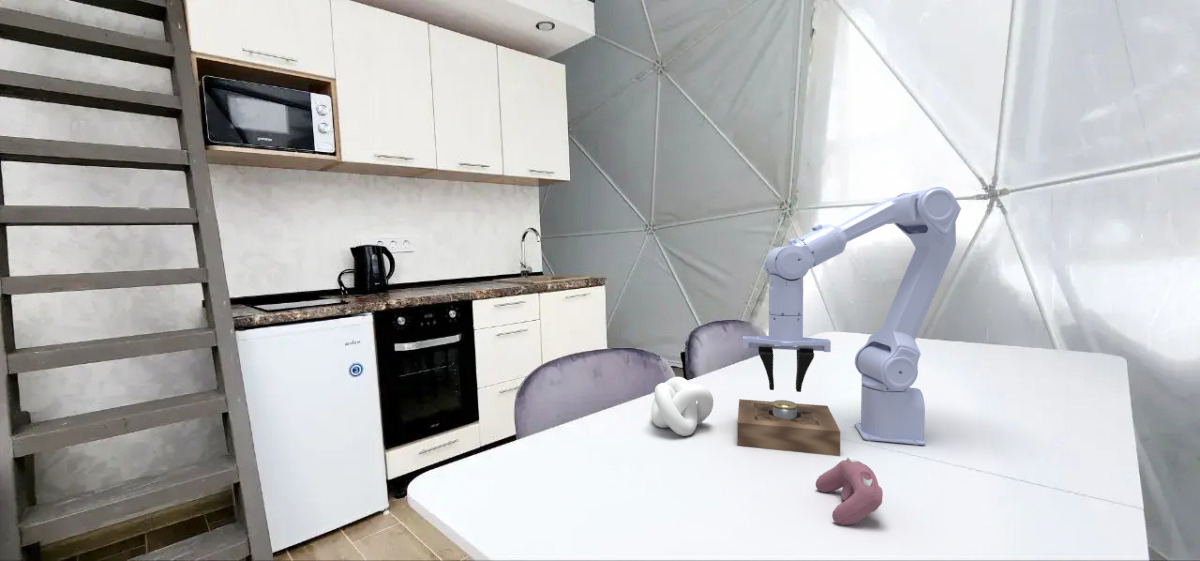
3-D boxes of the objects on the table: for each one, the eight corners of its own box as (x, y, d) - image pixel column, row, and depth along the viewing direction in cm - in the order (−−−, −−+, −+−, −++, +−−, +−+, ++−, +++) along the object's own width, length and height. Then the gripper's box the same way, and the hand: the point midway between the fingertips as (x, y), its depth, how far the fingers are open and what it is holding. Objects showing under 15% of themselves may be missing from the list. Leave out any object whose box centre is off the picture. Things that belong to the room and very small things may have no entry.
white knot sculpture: (705, 417, 99) (705, 373, 98) (721, 439, 87) (721, 389, 86) (649, 418, 99) (649, 374, 98) (657, 441, 87) (657, 391, 86)
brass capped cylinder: (795, 433, 90) (795, 400, 89) (797, 441, 86) (797, 407, 85) (771, 431, 91) (772, 399, 90) (773, 439, 87) (773, 405, 86)
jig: (827, 426, 93) (827, 405, 93) (840, 455, 79) (840, 431, 79) (739, 419, 97) (739, 399, 97) (737, 445, 84) (737, 422, 84)
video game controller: (867, 542, 58) (897, 493, 58) (830, 522, 59) (860, 473, 58) (842, 501, 68) (867, 458, 67) (811, 484, 69) (836, 442, 68)
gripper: (742, 315, 86) (742, 392, 86) (834, 318, 81) (832, 398, 82) (743, 311, 92) (742, 382, 93) (827, 313, 88) (826, 387, 89)
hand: (784, 389), depth 88 cm, fingers open, 4 cm apart
